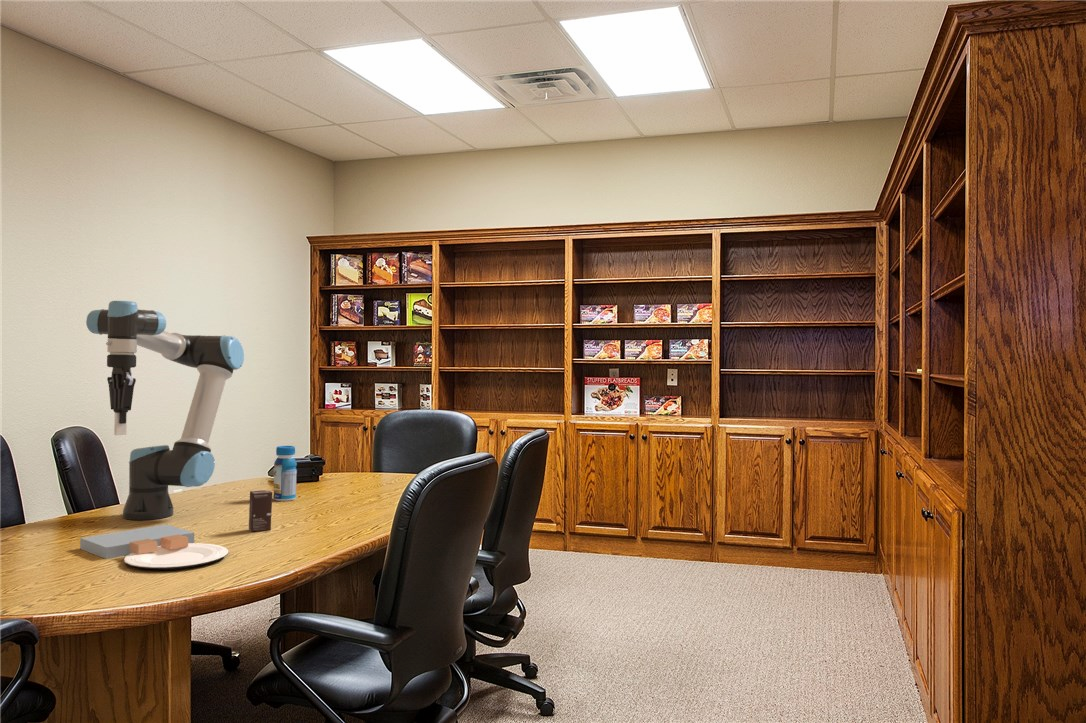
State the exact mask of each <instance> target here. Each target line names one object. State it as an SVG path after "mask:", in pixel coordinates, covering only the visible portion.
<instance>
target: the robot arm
mask: <svg viewBox="0 0 1086 723" xmlns="http://www.w3.org/2000/svg"><path fill="white" fill-rule="evenodd" d="M166 319H167V318H166V316H165V315H164V314H163V313H161V312H159V311H155V310H147V309H139V308H138V303H137V302H136V301H131V300H111V301H109V303H108V308H107V309H104V308H102V309H93V310H91V311H90V312H89V313H88V314H87V315H86V321H85V323H86V327H87V330H89V332H90V333H92V334H95V335H107V341H106V343H105V344H106V347H107V353H109V354H107V355H106V366H107V367H108V368H112V370H111V371H112V372H111V376H107V379H106V380H107V385H108V391H109V392H108V393H109V406H110V410H113V412H114V425H113V426H114V428H113V431H114V432H113V433H114V436H125V435H127V422H128V421H127V420H128V419H127V415H128V412H129V411H131V410H132V404H133V396H134V388H135V384H136V382H137V380H136V378H134V377H132V369H131V368H133V369H134V368H136V367H137V356H136V353H138V348H137V347H140V348H145V349H146V350H150V351H152V352H155V353H158V354H161V356H162V357H163V358H164V359H166V360H169V361H171V362H174V363H177V364H180V365H183V366H185V367H189V368H194V369H196V370H197V372H198V373H199V375H198V376H199V377H198V380H197V382H196V383H197V384H196V386H195V389H194V393H193V397H192V399H191V403H190V407H189V411H188V413H187V417H186V421H185V424H184V427H183V430H182V433H181V438H179V439H178V440H176V441H174V443H173V447H172V449H171V448H170V445H168V444H163V445H153V446H146V447H138V448H134V449H132V450H131V451H130V455H129V461H128V464H129V467H128V468H129V469H128V470H129V472H128V473H129V474H128V475H129V476H128V477H129V478H128V479H129V480H128V481H129V483H128V487H129V489H128V496H127V498H126V502H125V504H124V506H123V509H122V518H123V519H125V520H131V521H145V520H146V521H147V520H157V519H164V518H168V517H172V516H173V515H174V505H173V502H172V500H171V497H170V493H169V486H172V487H173V486H174V487H184V488H185V487H186V488H192V487H193V488H194V487H201V486H203V485H204V484H206V483H207V482H209V480H210V479H211V477H212V476H213V473H214V470H215V467H216V466H215V465H216V463H215V457H214V455H213V454H212V448H211V447H210V445H209V442H210V438H211V434H212V430H213V427H214V424H215V421H216V416H217V413H218V410H219V406H220V404H221V403H220V402H221V399H222V395H223V392H224V389H225V388H224V387H225V385H226V381H227V380H229V379H231V378H232V376H233V373H234V371H237V370H239V369H241V367H243V364H244V360H245V353H244V348H243V345H242V343H241V342H240V340H239V339H238V338H236V337H235V336H233V335H232V336H231V335H229V336H228V335H225V334H224V335H199V334H198V335H191V334H189V335H187V334H185V335H184V334H181V333H178V332H171V333H170V332H168V331H165V330H166V328H167V320H166Z"/></svg>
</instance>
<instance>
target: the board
mask: <svg viewBox="0 0 1086 723" xmlns="http://www.w3.org/2000/svg"><path fill="white" fill-rule="evenodd" d="M178 534H179V535H182V536H186V537H188V543H195V532H194V531H192V530H191V531H190V530H187V529H184V528H179V527H176V526H173V525H171V524H170V525H169V524H160V525H154V526H149V527H141V528H136V529H128V530H122V531H117V532H112V533H105V534H103V533H102V534H96V535H91V536H90V535H89V536H85V537H80V538H79V540H80V541H79V542H80V544H79V545H80V546H79V549H80V550H82V551H84V552H87V553H90V554H93V555H95V556H98V557H100V558H103V559H105V560H107V559H113V558H114V559H115V558H118V557H119V558H120V557H124V556H125V557H126V556H127V555H129V554H131V553H133V552H130V551H129V542H133V541H139V540H144V539H151V540H154V541H158V546H161V537H167V536H173V535H178Z"/></svg>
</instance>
